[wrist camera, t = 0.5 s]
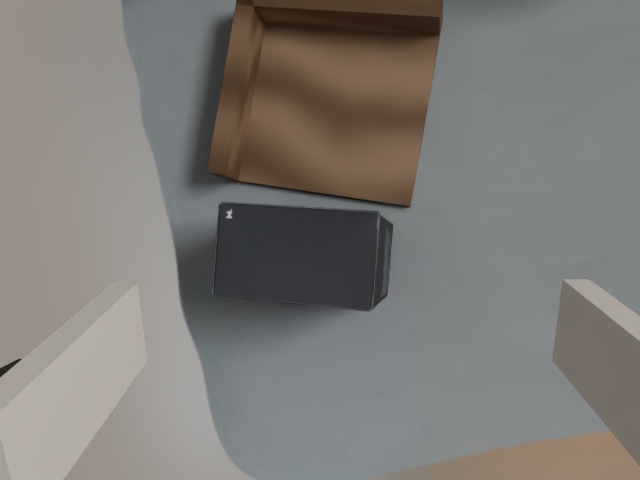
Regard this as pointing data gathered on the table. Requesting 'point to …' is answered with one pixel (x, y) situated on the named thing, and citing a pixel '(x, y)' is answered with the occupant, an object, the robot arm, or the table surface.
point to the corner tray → (327, 96)
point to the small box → (302, 255)
